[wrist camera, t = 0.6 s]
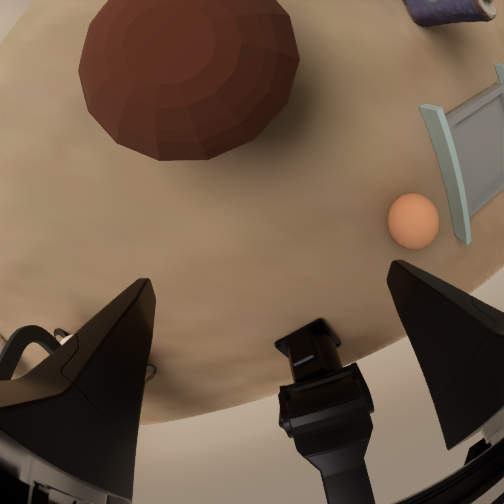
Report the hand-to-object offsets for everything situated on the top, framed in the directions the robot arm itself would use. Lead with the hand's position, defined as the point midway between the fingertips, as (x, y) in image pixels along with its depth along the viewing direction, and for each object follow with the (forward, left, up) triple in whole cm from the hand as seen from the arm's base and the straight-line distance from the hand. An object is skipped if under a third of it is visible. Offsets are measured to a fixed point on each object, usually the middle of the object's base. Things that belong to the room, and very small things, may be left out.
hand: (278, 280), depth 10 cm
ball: (-11, -10, -11) cm, 18 cm away
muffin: (+9, -2, -13) cm, 16 cm away
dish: (-11, -24, -13) cm, 29 cm away
